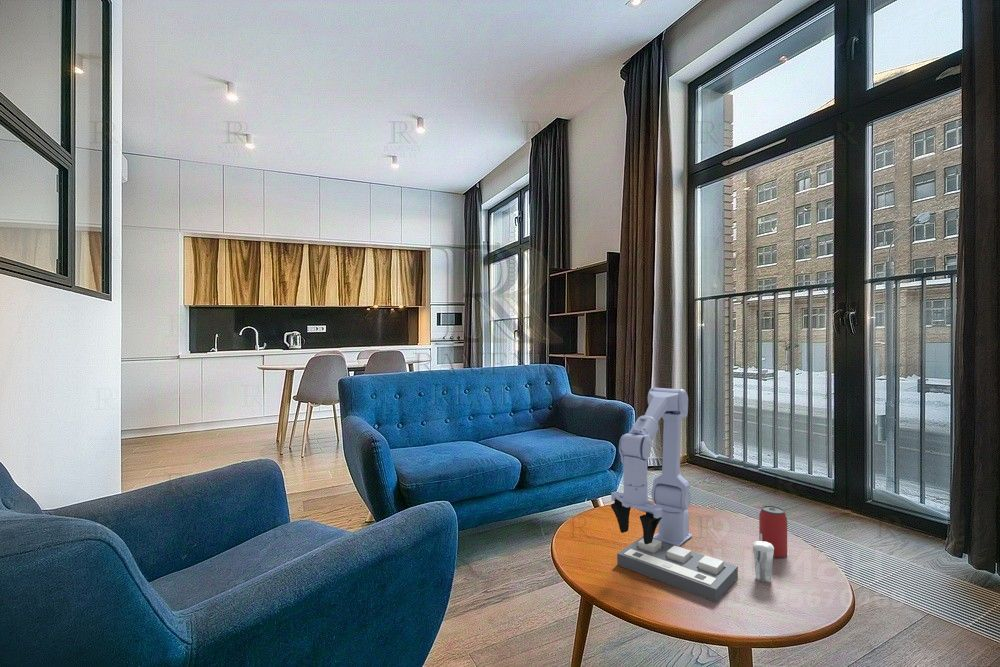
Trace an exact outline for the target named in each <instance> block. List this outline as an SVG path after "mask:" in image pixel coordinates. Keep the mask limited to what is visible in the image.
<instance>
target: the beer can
mask: <svg viewBox="0 0 1000 667" xmlns="http://www.w3.org/2000/svg"><path fill="white" fill-rule="evenodd" d="M758 520H759V521H758V522H759V524H758V525H759V527H758V528H759V529H758V530H759V531H758V533H759V536H758V537H759V540H758V541H760V533H761V534H762V541H764V542H768V543H771V544H772V545H773V547H774V554H773V559H774V558H775V559H781V558H785V557H786V556H788V518H787V515H786V511H785V509H784V508H782V507H779V506H776V505H768V504H767V505H763V506H761V510H760V512H759V515H758Z"/></svg>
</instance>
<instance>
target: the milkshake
mask: <svg viewBox="0 0 1000 667" xmlns="http://www.w3.org/2000/svg"><path fill="white" fill-rule="evenodd" d="M752 549H753V550H752V551H753V552H752V553H753V559H754V572H755V579H756V580H757V581H758V582H760V583H764V584H765V583H767V584H769V583H770V582H772V575H773V563H774V562H773V560H774V557H773V554H774V547H773V545H772V544H771V543H768V542H764V541H762V534H761V533H760V541H759V540H755V541H754V542H753V543H752Z"/></svg>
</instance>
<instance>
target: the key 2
mask: <svg viewBox="0 0 1000 667" xmlns="http://www.w3.org/2000/svg"><path fill="white" fill-rule="evenodd" d="M724 562H725V560H721V559H718V558H715V557H713V556H708V555H706V554H705V555H704V557H703V558H702V559H701V560H700V561H699V562H698V569H701V570H704V571H707V572H710V573H713V574H716V575H719V574H720V573H721V572H722V571H723V570H724Z"/></svg>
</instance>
